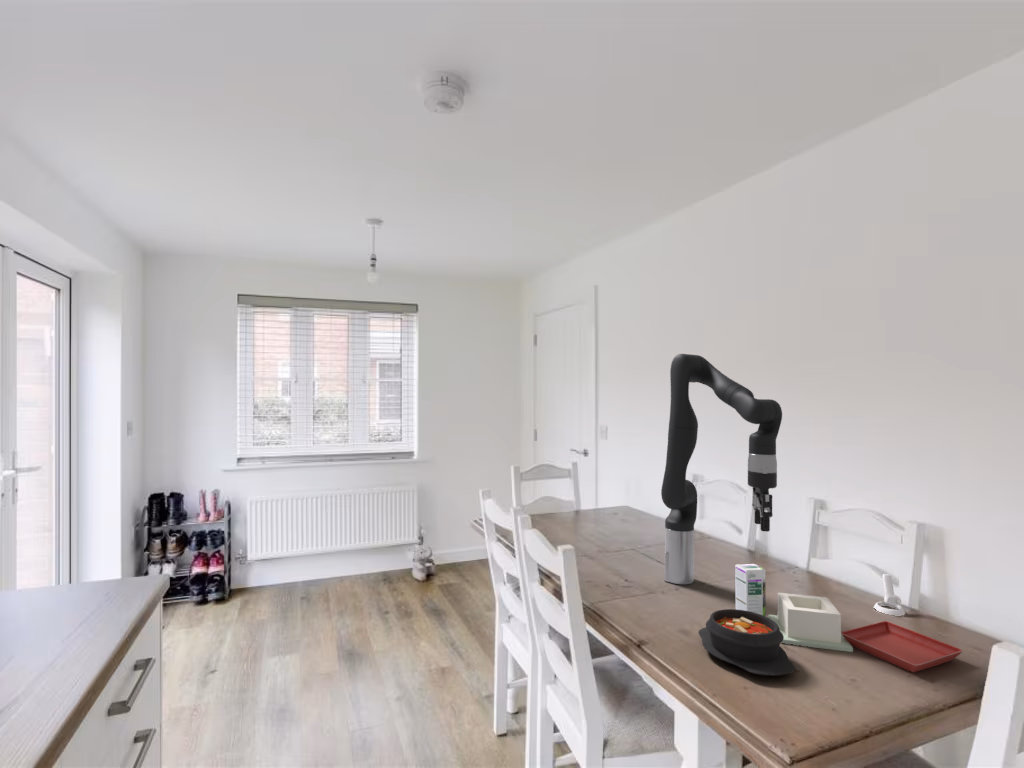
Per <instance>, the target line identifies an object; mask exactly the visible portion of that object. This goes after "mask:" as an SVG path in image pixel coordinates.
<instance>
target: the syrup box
mask: <svg viewBox="0 0 1024 768" xmlns="http://www.w3.org/2000/svg"><path fill="white" fill-rule="evenodd" d="M734 570H735V572H734V574H735V575H734V576H735V577H734V579H735V583H734V584H735V586H734V587H735V588H734V589H735V609H736V610H744V611H750V612H754V613H757V614H761V615H763V616H766V617H767V615H766V614H767V610H766V609H767V608H766V607H767V605H766V604H767V603H766V599H767V598H766V597H767V596H766V595H767V594H766V590H767V589H766V588H767V587H766V582H767V581H766V569H765V568H764V567H762V566H761V565H759V564H756V563H749V564H748V563H747V564H746V563H744V564H739V563H738V564H735V567H734Z"/></svg>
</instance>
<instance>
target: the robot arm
mask: <svg viewBox="0 0 1024 768" xmlns="http://www.w3.org/2000/svg"><path fill="white" fill-rule="evenodd" d="M669 373H670V406H669V407H670V408H669V410H670V411H669V422H668V431H667V432H668V433H667V448H666V458H665V459H666V460H665V469H664V473H663V474H664V475H663V480H662V485H661V489H660V490H661V493H660V494H661V500H662V502H663V504H664V505H665V506H666V507H667V508H668V509H670V512H669V514H668V516H666V518H665V521H664V531H665V532H664V581H665V582H666V583H667V582H668V583H671V584H676V585H692V584H693V583H694V579H695V578H694V577H695V576H694V573H695V571H694V570H695V569H694V567H695V566H694V565H695V564H694V560H695V559H694V558H695V555H694V554H695V553H694V550H695V535H694V534H695V523H696V521H697V515H698V513H697V512H698V491H697V488H696V486H695V484H694V483H693V482H692V481H690V480H688V479H687V470H688V466H689V463H690V460H691V458H692V455H693V454H694V451H695V449H696V446H697V441H698V431H699V420H698V418H697V415H696V413H695V410H694V408H693V407H692V404H691V402H690V396H689V395H690V394H689V393H690V391H689V389H690V383H698V384H699V383H700V384H702V385H704V386H707V387H709V388H710V389H712V391H713V393H714V395H715V396H716V397H717V398H718V399H719V400H721V401H722V402H723V403H724V404H726V405H728V406H729V407H731V408H733V409H734V410H735V411H736V413H737V414H738V415H740V417H741V418H742V419H743V420H745V421H746V422H748V423H750V424H752V425H753V424H754V425H758V427H757V430H756V431H755V432H753V433H751V434H750V435H749V436H748V458H747V486H748V487H752V504H751V505H752V508H753V511H754V521H753V522H754V523H755V524H756V525H760V531H761V532H770V530H771V529H770V528H771V527H770V526H771V525H770V524H771V523H770V522H771V520H770V519H771V518H772V517H773V494H770V491H769V489H776V488H777V487H778V461H777V437H778V434H779V431H780V427H781V424H782V420H783V410H782V407H781V405H780V403H779V402H778V401H776V400H774V399H769V398H767V399H764V398H763V399H761V398H760V399H758V398H756V397H755V395H754V393H753V392H752V390H750V389H749V388H747V387H745V386H744V385H743V384H740V383H739V382H736V381H735V380H733V379H732V378H730V377H728V376H727V375H726V374H724V373H722V372H721V371H720V370H719V369H718V368H716V367H715V366H714V365H713V364H712V363H711V362H709V361H708V360H707V358H704V356H701V355H698V354H688V353H679V354H675V356H674V357H673V358H672V361H671V364H670V371H669Z"/></svg>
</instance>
